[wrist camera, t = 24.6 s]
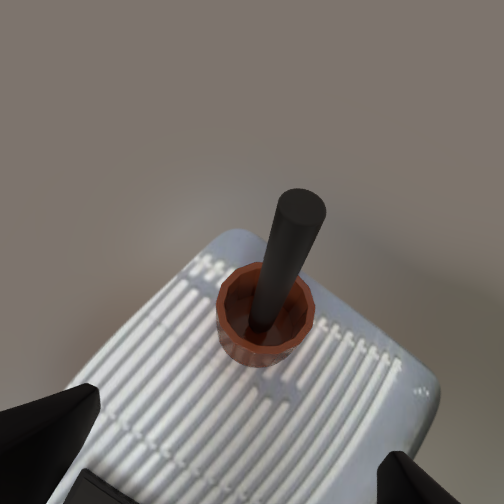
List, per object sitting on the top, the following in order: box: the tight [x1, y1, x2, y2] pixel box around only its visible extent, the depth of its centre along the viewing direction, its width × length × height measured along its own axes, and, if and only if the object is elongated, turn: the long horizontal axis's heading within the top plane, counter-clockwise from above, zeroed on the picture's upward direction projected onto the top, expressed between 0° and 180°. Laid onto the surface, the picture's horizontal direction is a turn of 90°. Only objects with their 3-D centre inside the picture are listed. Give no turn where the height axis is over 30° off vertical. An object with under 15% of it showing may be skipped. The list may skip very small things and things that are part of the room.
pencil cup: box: [216, 262, 315, 368], centre depth 21 cm, size 6×6×5 cm
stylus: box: [248, 188, 326, 333], centre depth 17 cm, size 2×2×14 cm
